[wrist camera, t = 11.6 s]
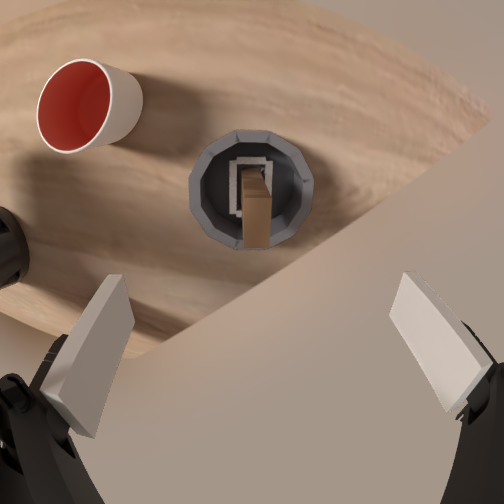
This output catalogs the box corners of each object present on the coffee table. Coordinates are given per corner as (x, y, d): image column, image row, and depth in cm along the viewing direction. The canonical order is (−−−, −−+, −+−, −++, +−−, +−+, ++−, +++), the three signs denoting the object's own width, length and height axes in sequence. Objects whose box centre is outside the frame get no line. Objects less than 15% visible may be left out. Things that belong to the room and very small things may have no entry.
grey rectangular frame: (230, 210, 35) (229, 217, 32) (230, 154, 31) (229, 157, 29) (268, 210, 35) (270, 217, 33) (270, 155, 32) (272, 157, 29)
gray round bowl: (199, 230, 37) (192, 250, 31) (196, 130, 31) (187, 132, 25) (297, 230, 37) (307, 249, 32) (304, 132, 31) (317, 134, 26)
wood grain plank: (241, 199, 34) (243, 248, 21) (241, 167, 32) (244, 198, 20) (257, 199, 34) (269, 248, 22) (258, 167, 32) (271, 198, 20)
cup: (158, 117, 30) (129, 116, 21) (98, 157, 31) (57, 172, 22) (128, 57, 25) (93, 39, 16) (70, 99, 27) (26, 99, 18)
